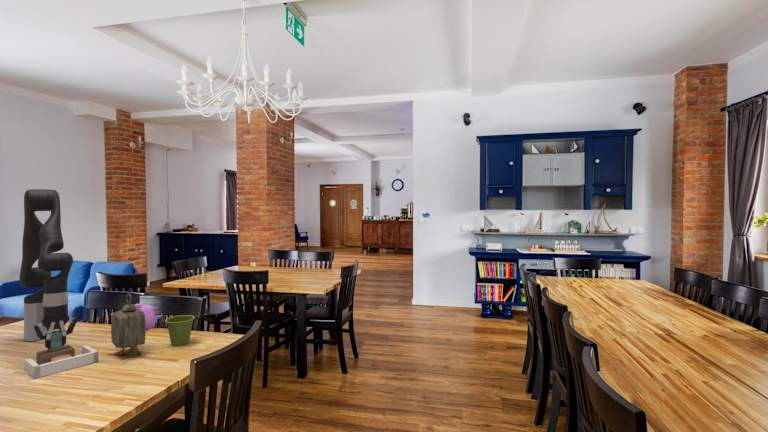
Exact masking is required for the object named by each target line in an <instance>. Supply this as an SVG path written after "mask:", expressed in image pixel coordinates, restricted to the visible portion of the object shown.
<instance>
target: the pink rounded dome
mask: <svg viewBox="0 0 768 432" xmlns="http://www.w3.org/2000/svg"><path fill="white" fill-rule="evenodd" d="M70 357H72V355H60V356H56V357H53V358H52V359H51V362H53V361H57V360H61V359H66V358H70Z"/></svg>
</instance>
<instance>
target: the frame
mask: <svg viewBox="0 0 768 432" xmlns="http://www.w3.org/2000/svg"><path fill="white" fill-rule="evenodd" d="M81 347H82V348H81V349H82V350H81V353H82V354H78V355H75V356H74V357H70V358H66V359H61V360H57V361H53V362H49V363H45V364H41V365H39V364H38V363H37V362H36V361H35V360H33V359H31V357H30V358H26V359H24V371H25V372H26V373H28V375H30V376H31V378H33V379H38V378H42V377H45V376H49V375H53V374H57V373H62V372H65V371H68V370H73V369H76V368H80V367H83V366H87V365H91V364H95V363H99V361H100V360H99V355H100V353H99V351H98V350H96V349H95V348H92V347H91V346H89V345H82V346H81Z"/></svg>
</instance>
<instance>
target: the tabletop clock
mask: <svg viewBox="0 0 768 432" xmlns="http://www.w3.org/2000/svg"><path fill="white" fill-rule="evenodd" d="M128 296H129V298H130V299H129V300H128ZM125 298H126V302H127V304H125V305H124V306H123V307H122V309H121V310H117V311H115V312H113V313H114V314H112V313H111V314H112V316H111V319H110V321H111V324H110V325H111V326H110V327H111V328H110V331H111V335H110V337H111V343H112V344H113V345H114V347H118V348H117V349H121V351H120V352H119V354H120V356H123V355H125V354H126V353H125V349H128V348H129V349H131V350H132V349H135V350H136V355H137V356H140V355H141V354H142V353H143V352H142V351H141V350H139V348H138V346H141V345H145V344H146V333H147V332H146V330H147V329H146V324H145V313H144V312H143V311H142V310H141V309H139V308H136V307H135V304H133V303H132V301H133V297H132V295H131V293H128V292H127V293H126V297H125Z"/></svg>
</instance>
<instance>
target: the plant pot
mask: <svg viewBox="0 0 768 432" xmlns="http://www.w3.org/2000/svg"><path fill="white" fill-rule="evenodd" d="M195 318H196V316H194V315H191V314H186V315H185V314H182V315H175V316H170V317H168V318H166V319H165V320H164V321H165V323H166V326H167V328H168V329H167V330H168V335H169V339H170V344H171V346H173V345H174V346H183V345H184V346H185V345H187V344H188V343H190V339H191V333H192V327H193V324H194V320H195ZM174 346H173V347H174Z"/></svg>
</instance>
